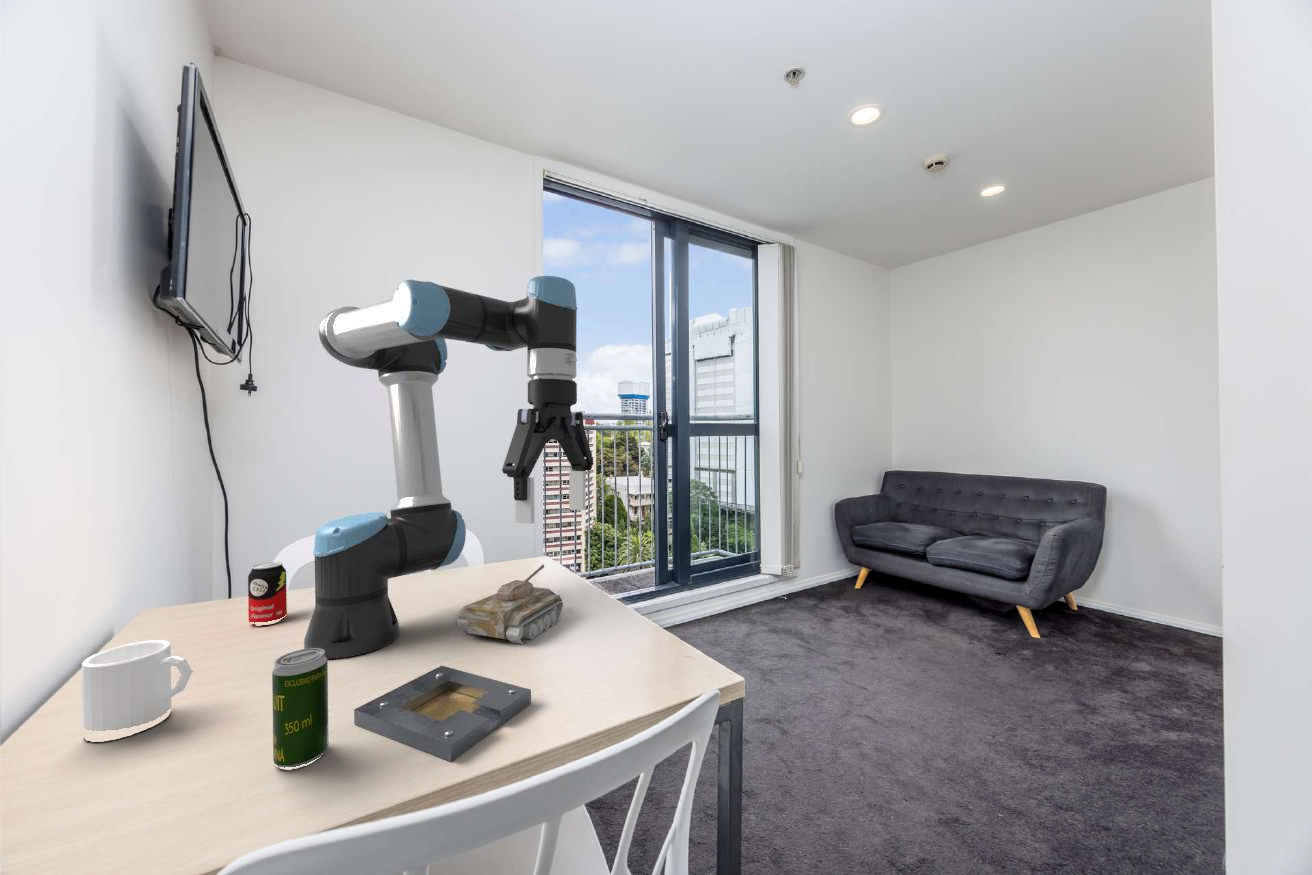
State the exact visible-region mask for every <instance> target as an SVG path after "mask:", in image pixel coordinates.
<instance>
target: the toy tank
mask: <svg viewBox="0 0 1312 875" xmlns="http://www.w3.org/2000/svg"><path fill="white" fill-rule="evenodd" d="M544 567H545V564H544V563H543V564H542V565H540V567H538V568H537V569H536V570H535V571H534V572H533V573H531V574H530V575H529V576H528V577H527V578H526V579H524V580H519V579H515V580H512V581H510V582H508V583H505V584H502V585H501V586H500V587H499V589H497V592H496V593H494V594H492V595H489V596H487V597H485V598H484V597H483V598H481V599H480V600H477V601H474V602H472V603H469V604H467V605H465V606H463V607H462V608H461V610H460V612H459V613H458V615H457V625H458V626H459V628H460V629H461V630H462V631H463V632H464V633H467V634H471V635H476V636H483V637H489V638H495V639H501V640H502V639H503V640H509V642H510V643H512V644H518V645H525V643H524V642H523V641H522V640H521V639H527V640H533V639H534V638H535V637H536V636H537V635H538V636H539V635H541V634H542V632H543V631H546V630H548V629H549V627H553V626H554V625H555V623H558V622H559V620H560V618H561V614H562V612H563V607H564V602H563V599H562V597H561V596H560V594H556V593H555V592H553V590H551V589H550V588H545V587H536V586H535V587H534V584H533V583H531V582H530V580H531V579H532V578H533V577H534V576H536V575H537V574H538V573H539V572H540V571H541V570H543V569H544Z"/></svg>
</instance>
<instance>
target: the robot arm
mask: <svg viewBox="0 0 1312 875" xmlns="http://www.w3.org/2000/svg"><path fill="white" fill-rule="evenodd" d="M526 286H527V287H526V291H525V296H526V297H525V298H523V299H519V300H516V301H515V300H514V301H507V300H502V299H499V298H494V297H489V296H486V295H485V296H484V295H481V294H477V293H472V292H468V291H464V290H460V289H456V288H452V287H448V286H444V285H440V284H438V283H435V282H432V281H421V280H416V279H406V280H404V281H402V282H401V283H400V284H399V286H398V287H397V288H396V290H395V292H394V294H393V297H392V298H391V299H387V300H383V301H380V302H377V303H374V304H370V305H367V306H364V307H356V306H351V305H350V306H343V307H339V308H336V309H334V310H332V311H330V312H328V313H327V314H326V315H324V317H323V318H322V319H321V322H320V324H319V327H318V336H319V341H320V344H322V347H323V348H324V350H325V351H326V352H327V353H328V354H329V355H330V356H331V357H333V358H334V359H336V361H338V362H340V363H342V364H345V365H348V366H350V367H354V368H359V369H364V370H365V369H366V370H375V371H377V373H378V382H379V383H380V384H382V385H383V386H384V387H386V388H387V394H388V405H389V417H390V429H391V438H392V439H391V440H392V449H393V452H392V453H393V460H394V462H393V464H394V471H395V472H394V473H395V482H396V496H397V501H396V502H395V503H394V505H393V506H391V508H390V509H389V510H390V518H388V515H387V514H386V513H384V512H381V511H380V512H379V511H378V512H367V513H366V512H365V513H360V514H353V515H348V516H344V517H339V518H336V519H333V520H331V521H328V522H325V523H323V524H322V525H321V526H319V528H318V529H317V530H316V531H315V537H314V546H313V548H314V549H313V557H314V594H315V595H314V598H315V602H314V604H315V606H314V610H313V613H312V616H311V619H310V622H309V624H308V628H307V630H306V634H305V636H304V640H303V649H309V648H320V649H323V650H324V651H325V656H326V658H327V660H332V658H334V659H335V658H336V659H343V658H349V657H354V656H355V657H356V656H359V655H363V654H366V653H371V652H373V651H375V650H378V649H380V648H383V647H385V646H387V645H388V644H389V645H390V644H391V643H392V642H394V641H395V640H397V638H398V636H399V633H400V632H399V631H400V628H399V619H398V616H397V615H396V612H395V610H394V607H393V605H392V602H391V599H390V597H389V579H393V578H397V577H402V576H407V575H411V574H415V573H420V572H426V571H429V570H431V571H433V570H437V569H439V568H442V567H446V566H449V565H451V564H453V563H454V562H456V561H457V560H458V558H459V557H460V555H461V554H462V552H463V551H464V550H463V549H464V547H465V542H466V537H467V536H466V535H467V529H466V524H465V520H464V519H463V515H462V514H461V513H460V512H459V511H458V510H455V509H453V508H452V501H451V500H449V499H448V498H446V496H444V494H443V486H442V475H441V466H440V457H439V456H440V455H439V446H438V445H439V444H438V434H437V426H436V415H435V407H434V406H435V404H434V396H433V395H434V394H433V387H434V385H435V384H436V383H437V382H438V380H439V375H440V374H441V373H443V372H444V370H445V369H446V367H447V362H446V361H447V360H448V354H449V353H448V346H447V342H446V340H452V341H453V340H454V341H460V342H465V343H472V344H477V345H483V346H486V347H487V348H488V349H490V350H492V351H495V352H503V351H504V352H512V351H515V350H519V349H523V348H527V349H526V351H527V352H526V355H527V358H526V359H527V360H526V362H527V364H526V365H527V366H526V369H527V370H526V373H527V374H526V375H527V377H528V378H530V380H529V381H528V382H527V403H528V404H529V405H531V406H533V407H532V408H519V409H518V410H517V418H516V419H517V420H516V425H515V429H514V432H513V436H512V437H511V441H510V444H509V447H508V450H507V453H506V456H505V460H504V462H503V465H502V469H501V471H502V473H503V474H505V475H506V476H507V477H508V478H513V499H514V501H515V523H516V524H527V525H528V524H529V525H532V524H535V478H534V477H530V475H531V474H532V471H533V470H534V468H535V466H536V465H537V462H538V460H539V458H540V456H541V454H542V452H543V450H544V448H545V446H546V444H547V443H549V442H550V441H551V440H555V441H556V442H557V443H559V444H560V446H561V449H562V451H563V452H564V454H565V456H566V459H567V460H568V462H569V464H570V467H571V469H572V470H569V471H568V477H569V478H568V480H569V481H568V484H569V485H568V486H569V487H568V490H569V492H568V493H569V494H568V495H569V496H568V500H569V503H568V504H569V505H568V506H569V508H568V510H573V511H585V510H586V486H587V484H586V478H587V477H586V476H587V474H586V472H587V471H591V470H592V466H594V459H593V455H592V450H591V447H590V444H589V441H588V440H589V439H588V437H587V433H586V429H585V426H584V415H583V414H584V413H583V412H582V411H572V410H571V408H572V406H574V405H576V404H577V402H578V383H576V381H575V380H574V379H575V378H576V377H577V361H578V360H577V319H578V318H577V316H578V315H577V313H578V312H577V311H578V307H577V296H576V292H577V291H576V286H575V285H574V283H572V282H571V281H570V280H569V279H567V278H563V277H560V276H555V275H554V276H553V275H542V276H541V275H539V276H534V277H532V278H531V279H529V281H528V283H527V284H526ZM329 658H330V659H329ZM334 659H333V660H334Z"/></svg>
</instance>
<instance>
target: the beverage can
mask: <svg viewBox="0 0 1312 875" xmlns="http://www.w3.org/2000/svg"><path fill="white" fill-rule="evenodd" d="M247 590H248V591H247V595H248V598H247V599H248V605H247V606H248V607H247V608H248V610H247V611H248V622H249V623H250V622H254V623H255V622H268V621H272V620H277V619H280V618H282V617H284V616H285V615H286V614H287V611H288V610H287V609H288V605H287V603H288V602H287V600H288V599H287V570H286V568H285V567H284V565H283V562H280V561H272V562H263V563H258V564H255V565H252V566H251V571H250V572H249V574H248V576H247ZM286 616H287V615H286ZM286 616H285V617H286ZM285 617H284V618H285Z"/></svg>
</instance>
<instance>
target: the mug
mask: <svg viewBox="0 0 1312 875" xmlns="http://www.w3.org/2000/svg"><path fill="white" fill-rule="evenodd" d="M171 645H172V644H171V643H170V642H169V641H167V640H162V639H158V640H157V639H156V640H154V639H153V640H151V639H150V640H145V641H136V642H132V643H128V644H127V643H125V644H123V645H119V646H115V647H111V648H108V649H105V650H102V651H100V652H97V653H94V654H92V655H90V656H88V657H87V658H86V659H84V660H83V662H82V663H81V689H82V690H81V693H82V694H81V699H82V706H81V708H82V729H83V728H85V730H92V731H95V730H96V731H106V730H119V729H123V728H130V727H133V726H139V725H141V724H145V723H148V722H150V721H153V720H155V719H157V718H158V717H161V716H162V715H164V714H165V713H167V711H168V710H169V709H170V708H171V709H172V697H175V696H176V695H178V694H179V693H181V692H183V691H184V690H185V688H186V686H187V684H188V682H189V680H190V678H191V676H192V674H193V672H194V671H193V669H192V668H191V666H190V664H189V662H188V661H187V660H186V658H183V657H180V656H177V655H172V654H171V652H172V647H171ZM171 655H172V656H171ZM172 666H173V667H176V668H177V670H178V671H179V673H180V676H179V679H178V681H177V682H176V685H175V687H174V688H172Z"/></svg>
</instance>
